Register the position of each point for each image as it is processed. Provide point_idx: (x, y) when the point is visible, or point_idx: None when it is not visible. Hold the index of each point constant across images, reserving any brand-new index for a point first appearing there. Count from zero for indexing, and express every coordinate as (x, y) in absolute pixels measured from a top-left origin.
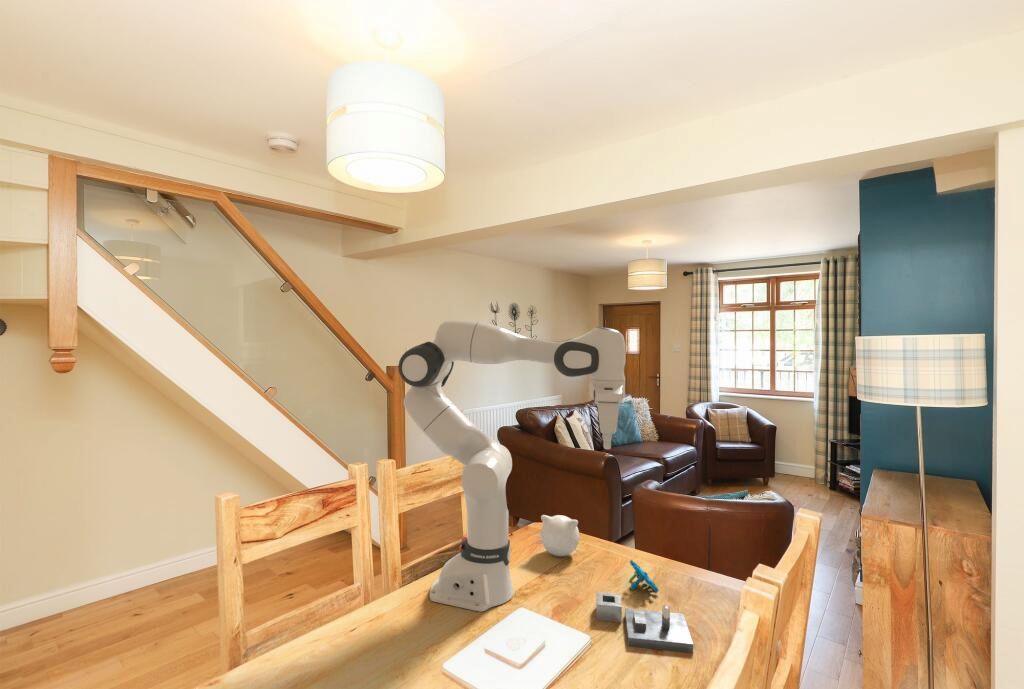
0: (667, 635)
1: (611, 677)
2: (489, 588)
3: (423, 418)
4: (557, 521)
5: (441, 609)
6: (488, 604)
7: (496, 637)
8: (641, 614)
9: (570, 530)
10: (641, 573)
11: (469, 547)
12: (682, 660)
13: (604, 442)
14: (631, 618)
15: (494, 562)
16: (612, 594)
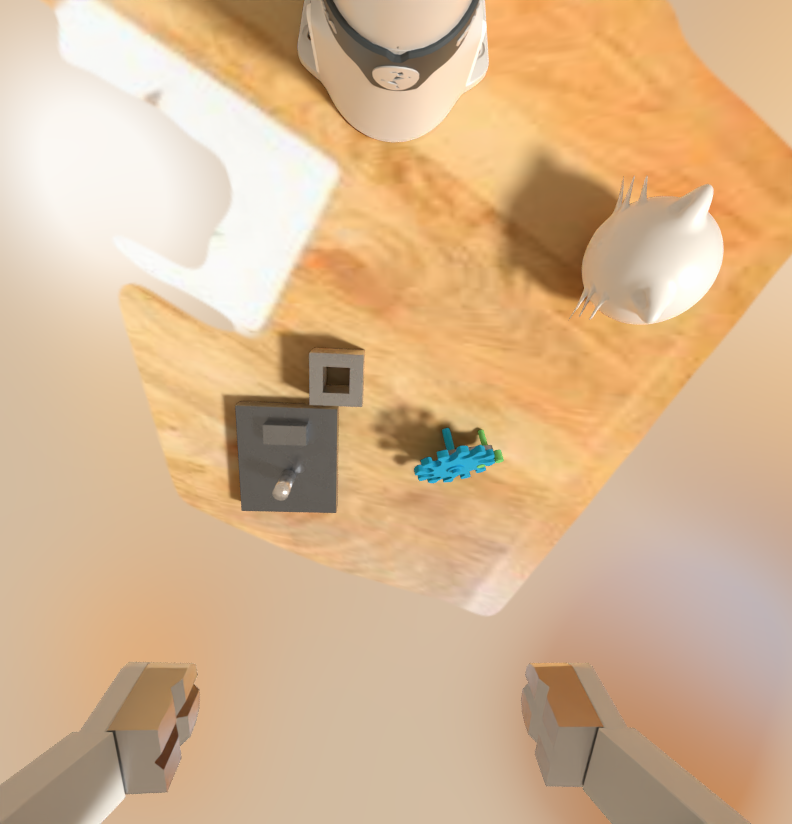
0: (258, 474)
1: (144, 362)
2: (316, 51)
3: None
4: (658, 250)
5: None
6: (315, 71)
7: (206, 116)
8: (295, 440)
9: (623, 296)
10: (424, 464)
11: None
12: (222, 483)
13: (86, 732)
14: (302, 418)
15: (329, 25)
16: (357, 390)
